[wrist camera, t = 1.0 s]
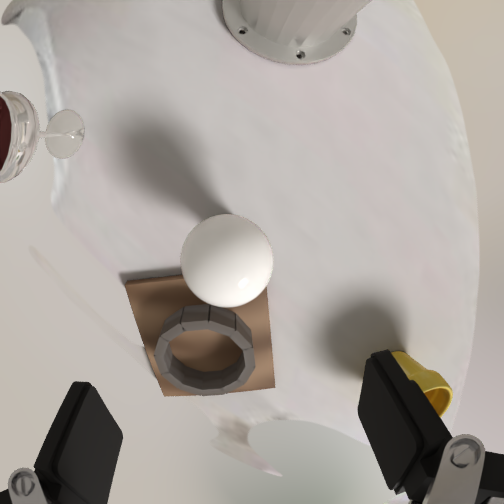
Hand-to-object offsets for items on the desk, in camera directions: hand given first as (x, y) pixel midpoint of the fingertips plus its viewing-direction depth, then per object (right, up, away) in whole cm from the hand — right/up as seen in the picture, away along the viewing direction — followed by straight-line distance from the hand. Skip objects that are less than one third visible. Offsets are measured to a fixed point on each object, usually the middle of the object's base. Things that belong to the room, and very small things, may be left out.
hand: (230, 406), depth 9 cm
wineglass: (-18, +17, +15) cm, 28 cm away
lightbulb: (-2, +7, +19) cm, 21 cm away
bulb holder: (-4, -4, +23) cm, 24 cm away
